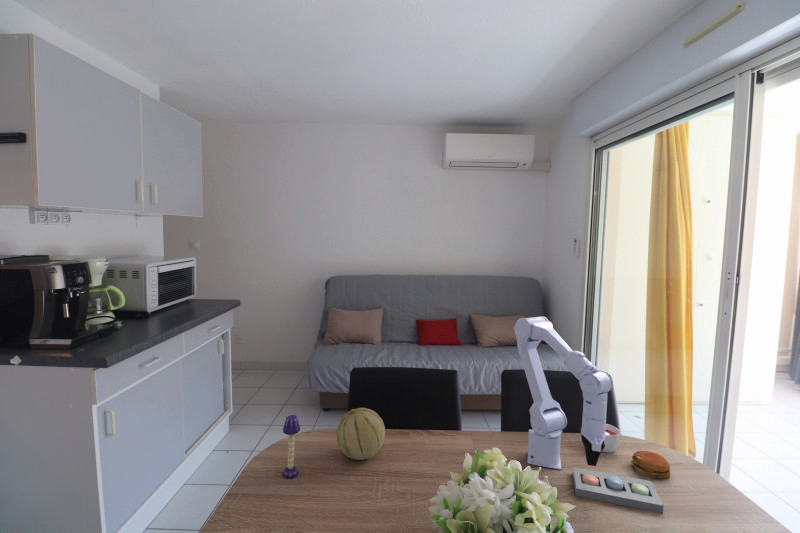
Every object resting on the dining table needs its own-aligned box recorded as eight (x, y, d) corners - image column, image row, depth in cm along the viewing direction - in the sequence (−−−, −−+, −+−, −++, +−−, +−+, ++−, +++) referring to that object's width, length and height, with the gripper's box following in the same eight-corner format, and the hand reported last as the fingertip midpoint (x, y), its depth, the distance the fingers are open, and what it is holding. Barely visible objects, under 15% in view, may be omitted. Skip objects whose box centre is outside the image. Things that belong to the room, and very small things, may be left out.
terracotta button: (582, 488, 111) (583, 480, 111) (581, 480, 115) (581, 473, 115) (599, 491, 110) (599, 484, 110) (597, 483, 114) (597, 476, 113)
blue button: (607, 490, 109) (608, 483, 109) (605, 482, 113) (605, 475, 113) (624, 493, 108) (624, 486, 108) (621, 485, 112) (621, 478, 112)
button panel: (576, 495, 108) (576, 488, 108) (572, 473, 119) (572, 466, 119) (662, 513, 102) (663, 505, 102) (651, 488, 113) (651, 481, 112)
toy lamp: (303, 472, 115) (303, 415, 114) (292, 481, 111) (292, 421, 110) (289, 468, 117) (290, 411, 116) (278, 476, 113) (278, 418, 112)
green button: (632, 497, 107) (633, 490, 107) (629, 489, 111) (630, 482, 111) (650, 501, 106) (650, 493, 106) (646, 492, 110) (646, 485, 110)
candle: (624, 455, 130) (625, 435, 130) (596, 454, 130) (597, 434, 130) (610, 441, 139) (611, 423, 139) (583, 440, 139) (584, 422, 139)
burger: (677, 477, 119) (678, 461, 118) (653, 482, 116) (654, 466, 115) (647, 460, 128) (647, 445, 128) (624, 464, 125) (624, 449, 125)
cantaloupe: (393, 460, 123) (395, 412, 122) (350, 475, 115) (351, 423, 114) (369, 440, 135) (370, 395, 134) (327, 452, 127) (328, 404, 126)
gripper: (615, 429, 103) (612, 482, 104) (606, 408, 117) (603, 454, 118) (584, 425, 105) (581, 476, 106) (579, 404, 119) (576, 449, 120)
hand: (591, 464), depth 112 cm, fingers closed
